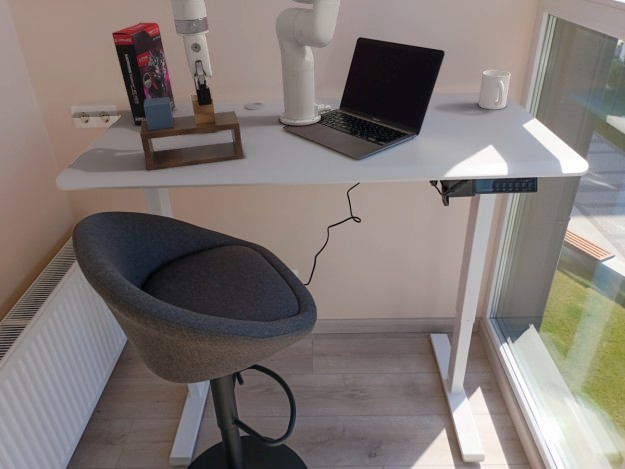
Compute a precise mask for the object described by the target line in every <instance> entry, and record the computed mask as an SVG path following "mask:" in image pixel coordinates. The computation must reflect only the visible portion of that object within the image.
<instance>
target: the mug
mask: <svg viewBox="0 0 625 469" xmlns="http://www.w3.org/2000/svg"><path fill="white" fill-rule="evenodd" d="M511 76H512V74H511V72H509V71H507V70H503V69H487V70H483V71H482V75H481V80H480V81H481V82H480V89H479V95H478V106H479V107H480V108H482V109H485V110H494V111H496V110H502V109H503V108H505V107H506V105H507V99H508V94H509V87H510V81H511Z"/></svg>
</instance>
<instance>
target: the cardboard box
mask: <svg viewBox="0 0 625 469" xmlns="http://www.w3.org/2000/svg"><path fill="white" fill-rule="evenodd" d="M210 94H211V100H212V104H210V105H202V106H200V105H199V104H198V98H197V94H191V102H192V104H191V105H192V109H193V116H195V122H196V124H204V123H213V122H216V119H215V113H216V112H215V106H214V99H213V95H212V93H211V92H210Z"/></svg>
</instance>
